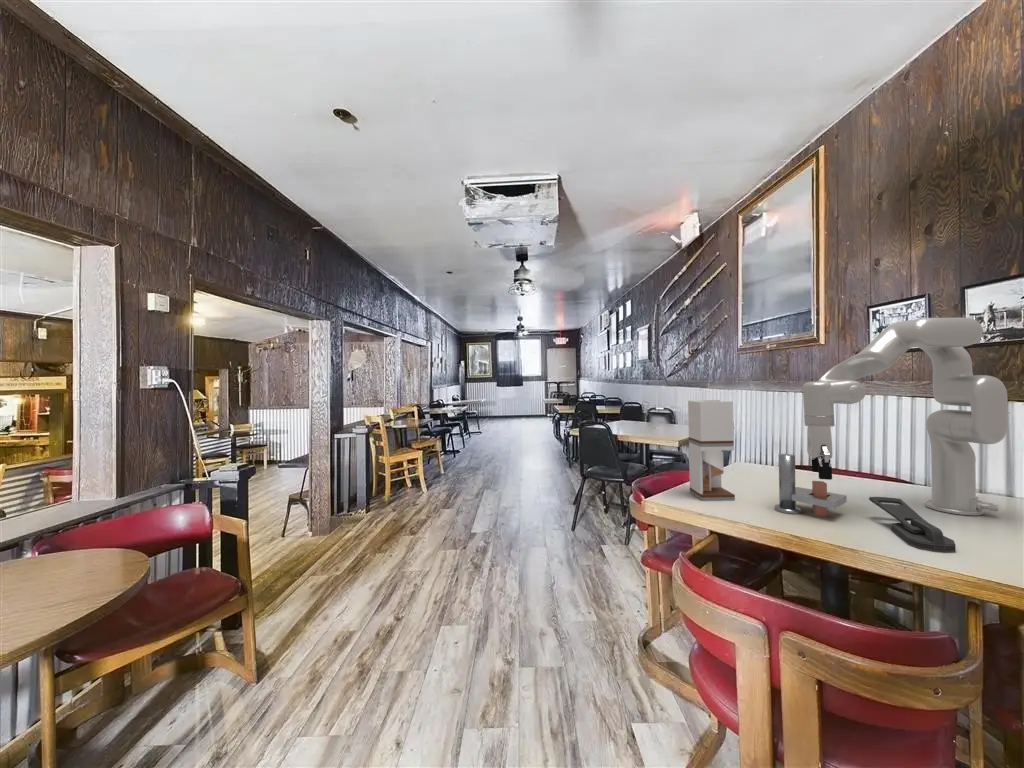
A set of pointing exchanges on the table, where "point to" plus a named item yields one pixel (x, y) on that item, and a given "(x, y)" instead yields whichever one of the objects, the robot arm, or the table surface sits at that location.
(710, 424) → the white tower model
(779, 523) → the table surface
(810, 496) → the rosette post
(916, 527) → the zipper pull
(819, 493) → the reddish brown rectangular block
